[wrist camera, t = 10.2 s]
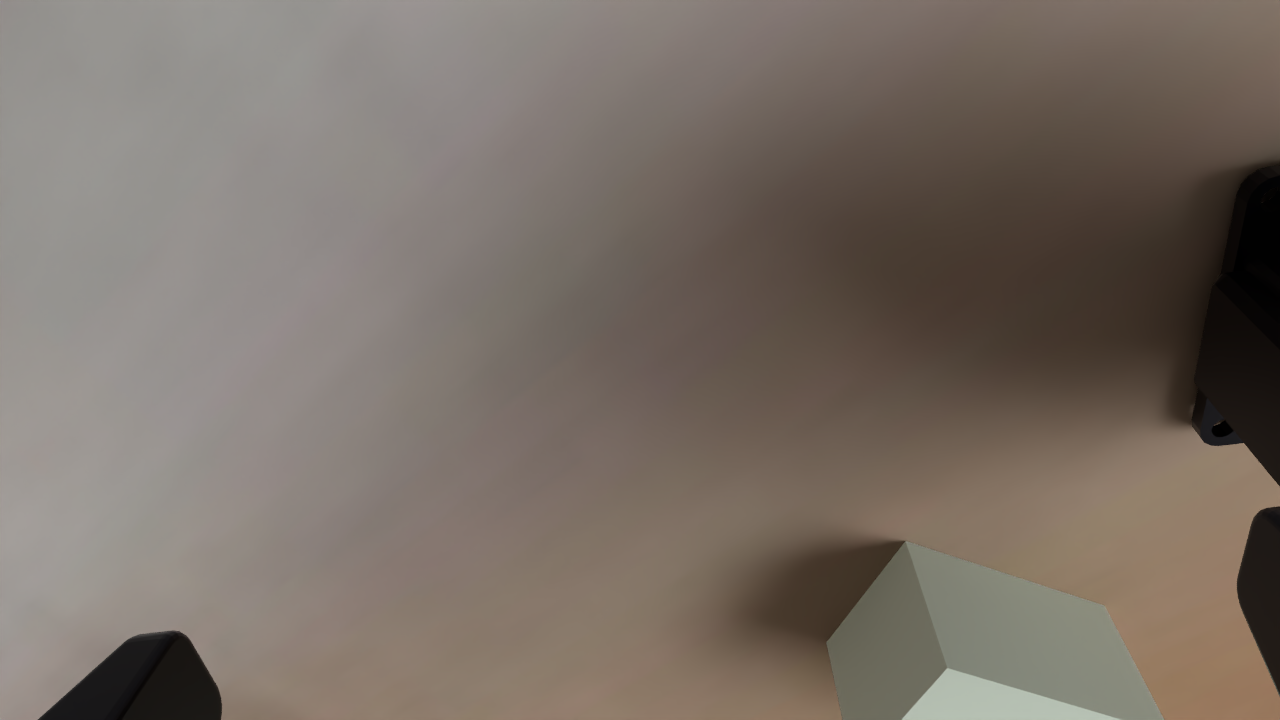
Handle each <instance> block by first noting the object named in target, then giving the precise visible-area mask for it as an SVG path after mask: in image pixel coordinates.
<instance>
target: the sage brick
mask: <svg viewBox="0 0 1280 720" xmlns="http://www.w3.org/2000/svg"><path fill="white" fill-rule="evenodd" d="M826 643H827V648H828V653H829V658H830V662H831V667H832V672H833V677H834V681H835V686H836V691H837V696H838V700H839V705H840V710H841V715H842V719H843V720H1164V718H1163V716H1162V714H1161V713H1160V711H1159V709H1158V707H1157V705H1156V703H1155V701H1154V699H1153V697H1152V695H1151V693H1150V691H1149V690H1148V688H1147V686H1146V684H1145V682H1144V680H1143V678H1142V676H1141V674H1140V672H1139V670H1138V669H1137V667H1136V665H1135V663H1134V661H1133V659H1132V657H1131V655H1130V653H1129V651H1128V649H1127V648H1126V646H1125V644H1124V642H1123V640H1122V638H1121V636H1120V634H1119V632H1118V630H1117V628H1116V627H1115V625H1114V623H1113V621H1112V619H1111V617H1110V615H1109V613H1108V611H1107V609H1106V607H1105V606H1104V605H1101V604H1098V603H1095V602H1092V601H1089V600H1086V599H1083V598H1080V597H1077V596H1074V595H1071V594H1067V593H1064V592H1061V591H1058V590H1055V589H1052V588H1049V587H1046V586H1043V585H1040V584H1037V583H1034V582H1031V581H1028V580H1024V579H1021V578H1018V577H1015V576H1012V575H1009V574H1006V573H1003V572H1000V571H997V570H994V569H991V568H988V567H984V566H981V565H978V564H975V563H972V562H969V561H966V560H963V559H960V558H957V557H954V556H951V555H948V554H944V553H941V552H938V551H935V550H932V549H929V548H926V547H923V546H920V545H917V544H914V543H911V542H908V541H905V542H904V544H903V545H902V546H901V547H900V549H899V550H898V551H897V552H896V554H895V555H894V556H893V558H892V559H891V560H890V561H889V563H888V564H887V565H886V567H885V568H884V569H883V570H882V572H881V573H880V574H879V576H878V577H877V578H876V579H875V581H874V582H873V583H872V585H871V586H870V587H869V588H868V590H867V591H866V592H865V594H864V595H863V596H862V597H861V599H860V600H859V601H858V603H857V604H856V605H855V606H854V608H853V609H852V610H851V612H850V613H849V614H848V615H847V617H846V618H845V619H844V621H843V622H842V623H841V624H840V626H839V627H838V628H837V629H836V631H835V632H834V633H833V635H832V636H831V637H830V638H829V640H828V641H827V642H826Z"/></svg>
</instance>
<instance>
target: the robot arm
mask: <svg viewBox="0 0 1280 720" xmlns="http://www.w3.org/2000/svg"><path fill="white" fill-rule="evenodd" d="M1276 187H1277V191H1276V193H1275V195H1274V196H1273V197H1272V198H1271V199H1269V200H1268V201H1266V202H1263V203H1261V202H1260V201H1261V199H1262V197H1263V195H1264V194H1265V193H1267V192H1268V191H1269V190H1271V189H1273V188H1276ZM1194 381H1195V384H1196V385H1197V386H1198V391H1197V396H1196V401H1195V406H1194V411H1193V416H1192V427H1193V428H1194V430H1195V431H1196V432H1197V433H1198V435H1199V436H1200V437H1201V439H1202V440H1203V441H1204V443H1207V444H1209V445H1213V446H1222V445H1230V444H1239V443H1244V444H1245V445H1246V446H1247V447H1248V448H1249V450H1250V451H1251V452H1252V453H1253V454H1254V456H1255V457H1256V458H1257V459H1258V461H1259V462H1260V463H1261V464H1262V465H1263V467H1264V468H1265V469H1266V470H1267V472H1268V473H1269V474H1270V475H1271V476H1272V478H1273V479H1274V480H1275V481H1276V482H1277V484H1278V485H1279V486H1280V165H1278V166H1270V167H1266V168H1263V169H1260V170H1257V171H1256V172H1254V173H1252V174H1251V175H1249V176H1248V177H1247V178H1246V179H1245V180H1244V182H1243V183H1242V184H1241V185H1240V188H1239V190H1238V192H1237V195H1236V200H1235V205H1234V210H1233V215H1232V220H1231V225H1230V230H1229V235H1228V240H1227V245H1226V250H1225V255H1224V260H1223V265H1222V270H1221V275H1220V276H1219V277H1218V279H1217V280H1216V281H1215V283H1214V284H1213V286H1212V290H1211V295H1210V300H1209V305H1208V311H1207V316H1206V321H1205V326H1204V331H1203V336H1202V341H1201V346H1200V351H1199V357H1198V362H1197V367H1196V372H1195V377H1194ZM1223 419H1225V420H1224V421H1223V422H1221V423H1220V424H1218V425H1215V426H1214V424H1216V423H1217V422H1218V421H1220V420H1223ZM1237 593H1238V599H1239V603H1240V606H1241V609H1242V611H1243V614H1244V616H1245V618H1246V621H1247V623H1248V625H1249V628H1250V630H1251V632H1252V634H1253V637H1254V639H1255V641H1256V644H1257V646H1258V648H1259V650H1260V653H1261V655H1262V657H1263V659H1264V662H1265V664H1266V666H1267V669H1268V671H1269V673H1270V675H1271V678H1272V680H1273V682H1274V685H1275V687H1276V689H1277V691H1278V694H1279V696H1280V507H1271V508H1265V509H1263V510H1260V511H1259V512H1258V513H1257V514H1256V516H1255V517H1254V518H1253V521H1252V524H1251V527H1250V531H1249V535H1248V539H1247V543H1246V547H1245V550H1244V554H1243V558H1242V562H1241V566H1240V570H1239V573H1238V578H1237ZM221 715H222V703H221V696H220V693H219V689H218V687H217V685H216V683H215V682H214V680H213V678H212V677H211V675H210V673H209V671H208V670H207V668H206V666H205V665H204V663H203V661H202V659H201V658H200V656H199V654H198V653H197V651H196V649H195V648H194V646H193V644H192V642H191V641H190V639H189V638H188V637H187V636H186V635H184V634H183V633H181V632H180V631H165V632H157V633H148V634H140V635H136V636H134V637H132V638H130V639H128V640H127V641H126V642H124V643H123V644H122V645H121V646H120V647H118V648H117V649H116V650H115V651H114V652H113V653H112V654H111V655H109V656H108V657H107V658H106V659H105V660H104V661H103V662H102V663H101V664H99V665H98V666H97V667H96V668H95V669H94V670H93V671H92V672H90V673H89V674H88V675H87V676H86V677H85V678H84V679H83V680H82V681H80V682H79V683H78V684H77V685H76V686H75V687H74V688H73V689H72V690H70V691H69V692H68V693H67V694H66V695H65V696H64V697H63V698H61V699H60V700H59V701H58V702H57V703H56V704H55V705H54V706H53V707H51V708H50V709H49V710H48V711H47V712H46V713H45V714H44V715H42V716H41V717H40V718H39V719H38V720H221Z"/></svg>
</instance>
